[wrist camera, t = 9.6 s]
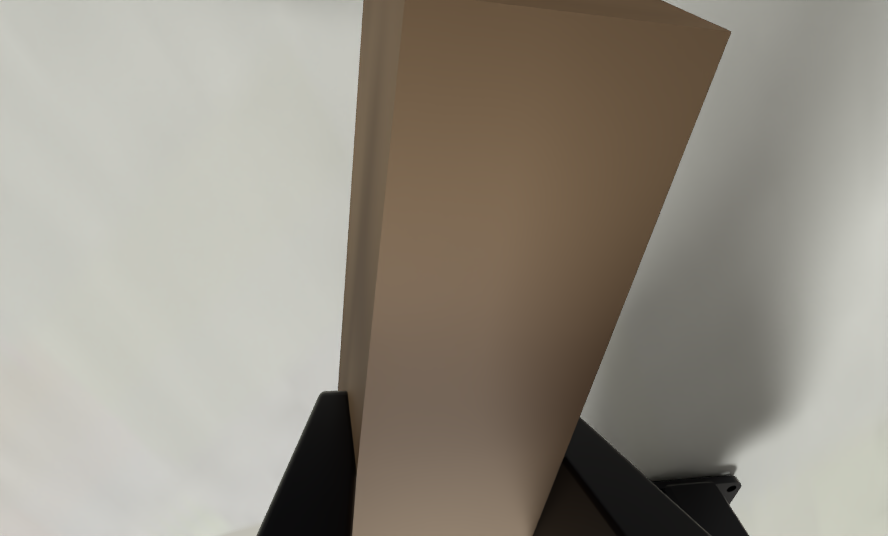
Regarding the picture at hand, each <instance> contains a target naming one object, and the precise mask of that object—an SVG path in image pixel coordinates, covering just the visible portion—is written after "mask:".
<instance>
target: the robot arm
mask: <svg viewBox="0 0 888 536" xmlns="http://www.w3.org/2000/svg"><path fill="white" fill-rule="evenodd" d="M356 479H357V475H356V463H355V453H354V444H353V436H352V427H351V418H350V410H349V401H348V393H347V391H324V392H322V393H321V394H320V395H319V397H318V399H317V401H316V403H315V406H314V408H313V410H312V412H311V415H310V417H309V419H308V421H307V424H306V426H305V428H304V430H303V433H302V435H301V437H300V439H299V442H298V444H297V446H296V448H295V451H294V453H293V455H292V457H291V460H290V462H289V464H288V466H287V469H286V471H285V473H284V475H283V477H282V480H281V482H280V484H279V486H278V489H277V491H276V493H275V495H274V498H273V500H272V502H271V504H270V507H269V509H268V511H267V513H266V516H265V518H264V520H263V522H262V525H261V527H260V529H259V532H258V534H257V536H352V533H353V519H354V506H355V492H356ZM740 488H741V483H740V482H739V481H738V479H737V478H736V477H735V476H719V477H707V478H694V479H682V480H670V481H657V482H651V481H650V480H649V479H648V478H647V477H646V476H644V475H643V474H642V473H641V472H640V471H639V470H638V469H637V468H636V467H635V466H633V465H632V464H631V463H630V462H629V461H628V460H627V459H626V458H625V457H623V456H622V455H621V454H620V453H619V452H618V451H617V450H616V449H615V448H613V447H612V446H611V445H610V444H609V443H608V442H607V441H606V440H605V439H604V438H602V437H601V436H600V435H599V434H598V433H597V432H596V431H595V430H594V429H592V428H591V427H590V426H589V425H588V424H587V423H586V422H585V421H584V420H583V419H581V418H580V417H579V420H578V422H577V425H576V427H575V430H574V432H573V435H572V437H571V440H570V442H569V445H568V447H567V450H566V453H565V455H564V458H563V460H562V463H561V465H560V468H559V470H558V473H557V475H556V478H555V480H554V483H553V485H552V488H551V491H550V493H549V496H548V498H547V501H546V503H545V506H544V508H543V511H542V513H541V516H540V518H539V521H538V523H537V526H536V528H535V531H534V534H533V536H749V535H748V533H747V532H746V530H745V528H744V527H743V525H742V524H741V522H740V521H739V519H738V518H737V516H736V514H735V513H734V511H733V510H732V508H731V507H730V505H729V504H730V503H731V501H732V500H733V498H734V497H735V495H736V494H737V492H738V491H739V489H740Z"/></svg>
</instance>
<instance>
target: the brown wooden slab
mask: <svg viewBox="0 0 888 536" xmlns="http://www.w3.org/2000/svg"><path fill="white" fill-rule="evenodd" d="M730 34H731V31H729V30H726V29H724V28H722V27H720V26H718V25H715V24H713V23H711V22H709V21H706V20H704V19H702V18H700V17H698V16H695V15H693V14H691V13H689V12H686V11H684V10H682V9H680V8H678V7H675V6H673V5H671V4H669V3H666V2H664V1H662V0H364V1H363V17H362V32H361V47H360V62H359V77H358V93H357V108H356V123H355V138H354V154H353V169H352V184H351V199H350V214H349V230H348V245H347V260H346V275H345V290H344V306H343V321H342V336H341V351H340V366H339V382H338V391H347V393H348V401H349V410H350V418H351V427H352V436H353V444H354V453H355V463H356V475H357V479H356V492H355V506H354V519H353V533H352V536H533V534H534V531H535V528H536V526H537V523H538V521H539V518H540V516H541V513H542V511H543V508H544V506H545V503H546V501H547V498H548V496H549V493H550V491H551V488H552V485H553V483H554V480H555V478H556V475H557V473H558V470H559V468H560V465H561V463H562V460H563V458H564V455H565V453H566V450H567V447H568V445H569V442H570V440H571V437H572V435H573V432H574V430H575V427H576V425H577V422H578V420H579V417H580V414H581V412H582V409H583V407H584V404H585V402H586V399H587V397H588V394H589V392H590V389H591V387H592V384H593V381H594V379H595V376H596V374H597V371H598V369H599V366H600V364H601V361H602V359H603V356H604V354H605V351H606V349H607V346H608V343H609V341H610V338H611V336H612V333H613V331H614V328H615V326H616V323H617V321H618V318H619V316H620V313H621V310H622V308H623V305H624V303H625V300H626V298H627V295H628V293H629V290H630V288H631V285H632V283H633V280H634V277H635V275H636V272H637V270H638V267H639V265H640V262H641V260H642V257H643V255H644V252H645V250H646V247H647V244H648V242H649V239H650V237H651V234H652V232H653V229H654V227H655V224H656V222H657V219H658V217H659V214H660V211H661V209H662V206H663V204H664V201H665V199H666V196H667V194H668V191H669V189H670V186H671V184H672V181H673V178H674V176H675V173H676V171H677V168H678V166H679V163H680V161H681V158H682V156H683V153H684V151H685V148H686V145H687V143H688V140H689V138H690V135H691V133H692V130H693V128H694V125H695V123H696V120H697V118H698V115H699V113H700V110H701V107H702V105H703V102H704V100H705V97H706V95H707V92H708V90H709V87H710V85H711V82H712V80H713V77H714V74H715V72H716V69H717V67H718V64H719V62H720V59H721V57H722V54H723V52H724V49H725V47H726V44H727V41H728V39H729V36H730Z"/></svg>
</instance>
